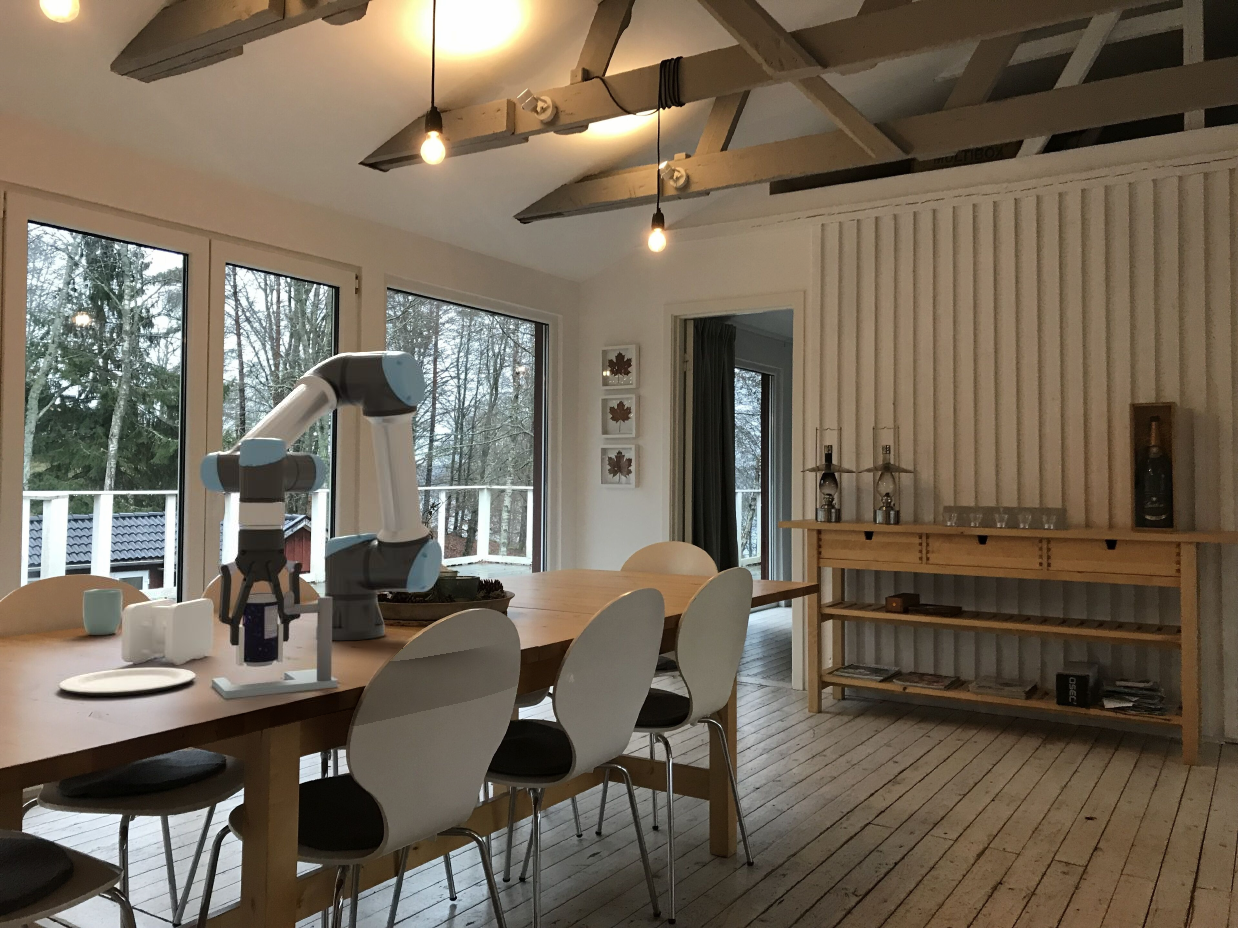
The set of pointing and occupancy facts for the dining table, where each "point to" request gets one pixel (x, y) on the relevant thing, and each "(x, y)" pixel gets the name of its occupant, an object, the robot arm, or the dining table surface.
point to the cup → (102, 611)
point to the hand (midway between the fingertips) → (259, 662)
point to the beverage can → (260, 629)
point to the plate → (127, 681)
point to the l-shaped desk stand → (300, 678)
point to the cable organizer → (167, 630)
